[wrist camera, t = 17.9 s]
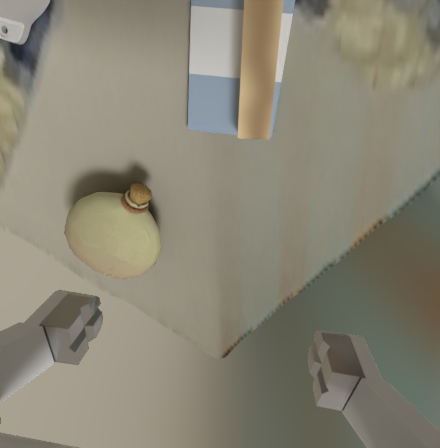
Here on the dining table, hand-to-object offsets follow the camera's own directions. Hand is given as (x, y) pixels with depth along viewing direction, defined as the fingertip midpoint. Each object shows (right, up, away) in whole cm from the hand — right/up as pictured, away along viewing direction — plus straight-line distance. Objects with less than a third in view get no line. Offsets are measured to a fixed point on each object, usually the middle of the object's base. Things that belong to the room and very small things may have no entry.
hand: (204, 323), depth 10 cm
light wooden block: (+5, +25, +22) cm, 34 cm away
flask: (-15, +5, +37) cm, 40 cm away
